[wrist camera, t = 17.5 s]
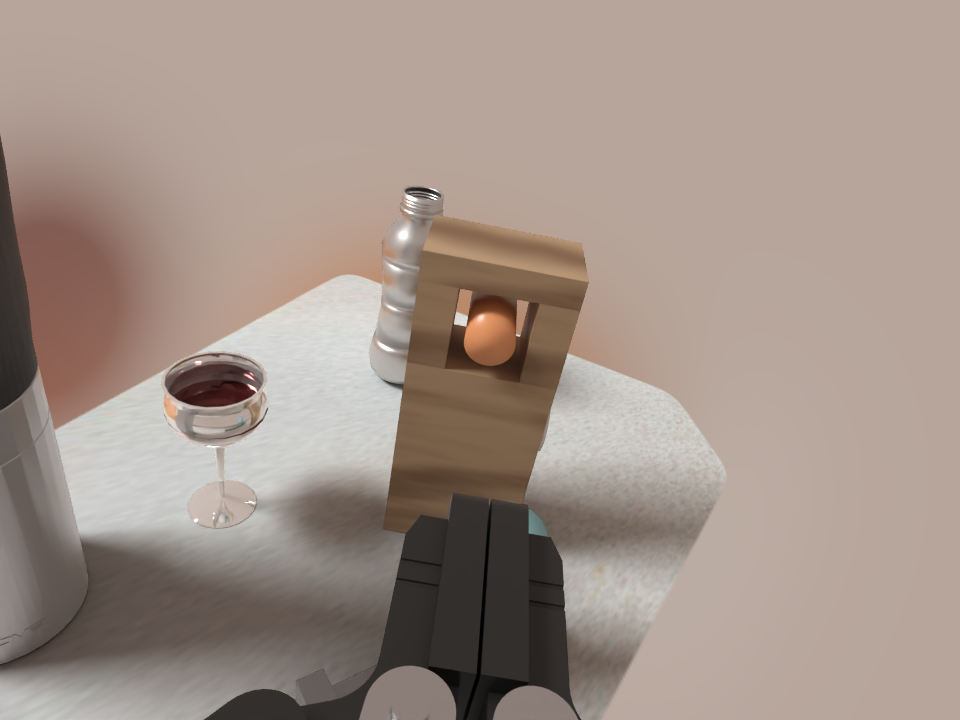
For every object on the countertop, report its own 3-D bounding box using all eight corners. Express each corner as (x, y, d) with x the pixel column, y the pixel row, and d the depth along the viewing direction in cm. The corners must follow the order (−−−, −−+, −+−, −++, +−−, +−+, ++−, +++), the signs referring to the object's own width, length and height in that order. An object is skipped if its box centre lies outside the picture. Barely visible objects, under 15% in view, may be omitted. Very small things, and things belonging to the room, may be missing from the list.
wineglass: (155, 524, 47) (137, 395, 41) (204, 464, 53) (194, 342, 46) (243, 547, 47) (239, 420, 40) (282, 484, 52) (284, 364, 46)
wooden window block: (512, 551, 51) (595, 283, 38) (383, 528, 50) (422, 250, 38) (514, 497, 56) (587, 244, 43) (396, 476, 56) (435, 214, 43)
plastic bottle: (377, 351, 71) (396, 174, 60) (436, 365, 71) (466, 190, 60) (358, 383, 66) (376, 195, 55) (423, 398, 65) (453, 213, 55)
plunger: (509, 370, 41) (520, 327, 39) (460, 360, 41) (468, 317, 39) (512, 317, 47) (521, 277, 45) (469, 308, 46) (476, 269, 45)
